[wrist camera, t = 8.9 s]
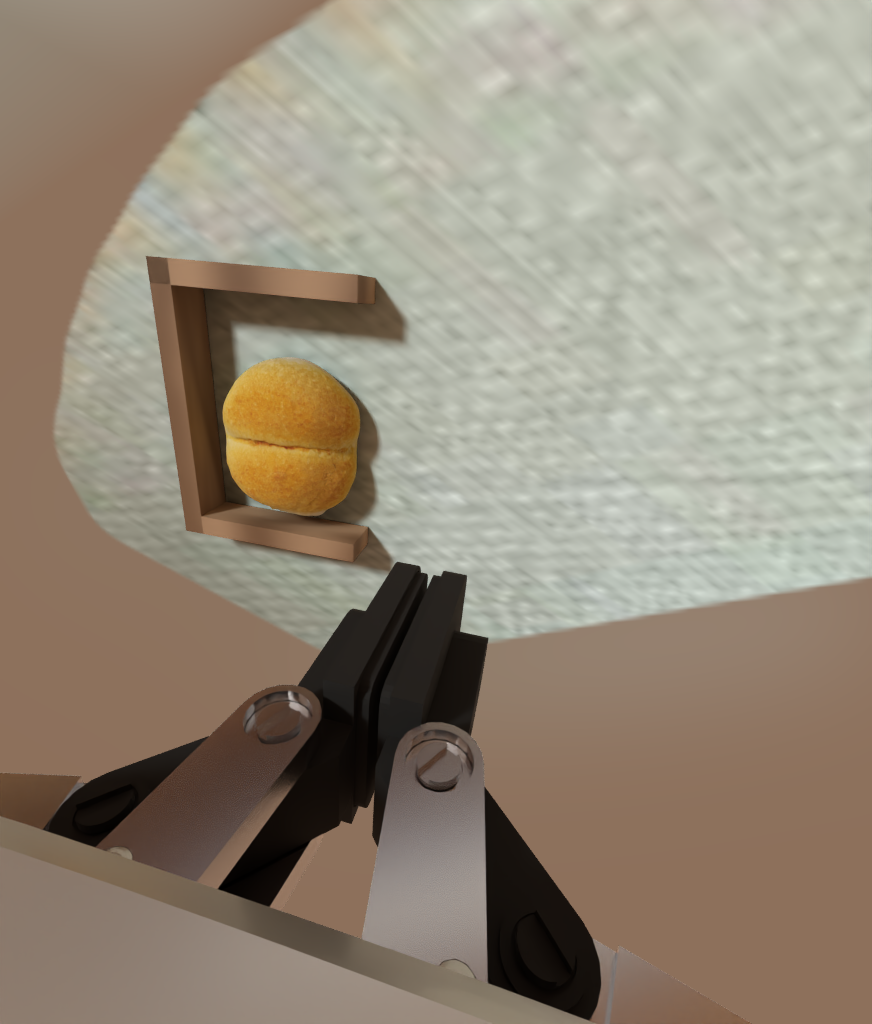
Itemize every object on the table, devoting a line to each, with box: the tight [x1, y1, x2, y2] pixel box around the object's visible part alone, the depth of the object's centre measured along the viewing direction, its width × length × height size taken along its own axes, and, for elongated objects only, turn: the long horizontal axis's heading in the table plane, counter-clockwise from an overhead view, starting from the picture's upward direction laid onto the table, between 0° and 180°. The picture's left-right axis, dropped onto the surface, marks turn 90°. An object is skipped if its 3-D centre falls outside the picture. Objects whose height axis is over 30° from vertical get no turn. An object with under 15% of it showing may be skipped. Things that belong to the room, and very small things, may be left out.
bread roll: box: [223, 357, 360, 516], centre depth 27 cm, size 8×9×4 cm
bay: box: [146, 256, 375, 562], centre depth 27 cm, size 11×15×2 cm
